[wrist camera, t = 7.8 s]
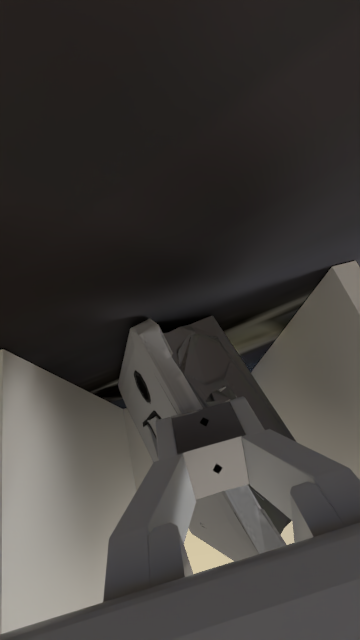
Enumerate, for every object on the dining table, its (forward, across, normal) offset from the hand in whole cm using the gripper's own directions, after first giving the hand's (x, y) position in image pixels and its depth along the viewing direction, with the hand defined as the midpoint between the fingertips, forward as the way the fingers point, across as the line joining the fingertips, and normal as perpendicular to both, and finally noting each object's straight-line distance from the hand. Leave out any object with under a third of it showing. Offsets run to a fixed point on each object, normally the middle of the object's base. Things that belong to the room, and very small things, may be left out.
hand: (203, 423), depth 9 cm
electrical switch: (+6, 0, 0) cm, 7 cm away
